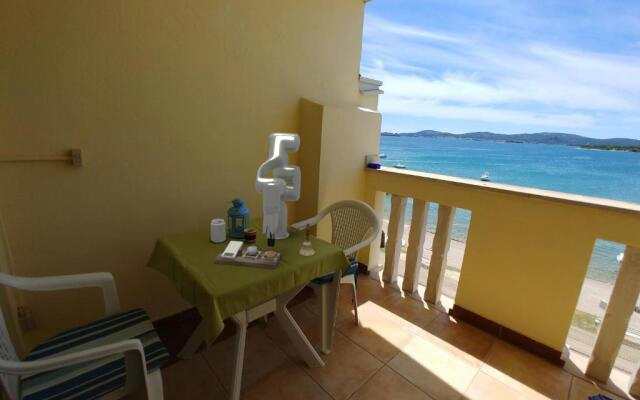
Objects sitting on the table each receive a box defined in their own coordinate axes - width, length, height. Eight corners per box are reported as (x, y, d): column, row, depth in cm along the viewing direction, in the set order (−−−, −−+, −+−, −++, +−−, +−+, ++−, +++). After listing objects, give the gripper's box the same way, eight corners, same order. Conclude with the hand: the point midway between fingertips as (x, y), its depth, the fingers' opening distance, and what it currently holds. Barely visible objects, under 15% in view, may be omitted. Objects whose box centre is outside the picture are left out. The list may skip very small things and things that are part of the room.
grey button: (249, 250, 126) (249, 245, 126) (258, 251, 126) (258, 246, 125) (245, 254, 122) (245, 249, 121) (255, 255, 122) (255, 250, 121)
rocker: (231, 242, 130) (230, 240, 129) (243, 243, 129) (242, 241, 129) (221, 257, 120) (221, 255, 120) (234, 259, 120) (234, 256, 119)
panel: (226, 251, 132) (226, 242, 131) (281, 256, 130) (281, 247, 129) (214, 263, 120) (213, 253, 118) (274, 268, 118) (274, 259, 116)
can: (220, 244, 140) (220, 223, 138) (208, 242, 142) (207, 221, 139) (228, 239, 148) (227, 218, 145) (216, 237, 149) (215, 217, 146)
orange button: (267, 255, 126) (267, 250, 125) (276, 255, 126) (276, 251, 125) (264, 259, 122) (264, 254, 121) (274, 260, 121) (274, 255, 121)
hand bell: (295, 253, 135) (296, 223, 131) (305, 248, 142) (306, 220, 138) (308, 257, 130) (309, 227, 127) (317, 252, 137) (319, 223, 133)
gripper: (268, 203, 126) (267, 238, 131) (258, 212, 111) (258, 252, 116) (283, 204, 125) (282, 240, 130) (275, 214, 111) (274, 253, 116)
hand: (271, 245), depth 123 cm, fingers closed
